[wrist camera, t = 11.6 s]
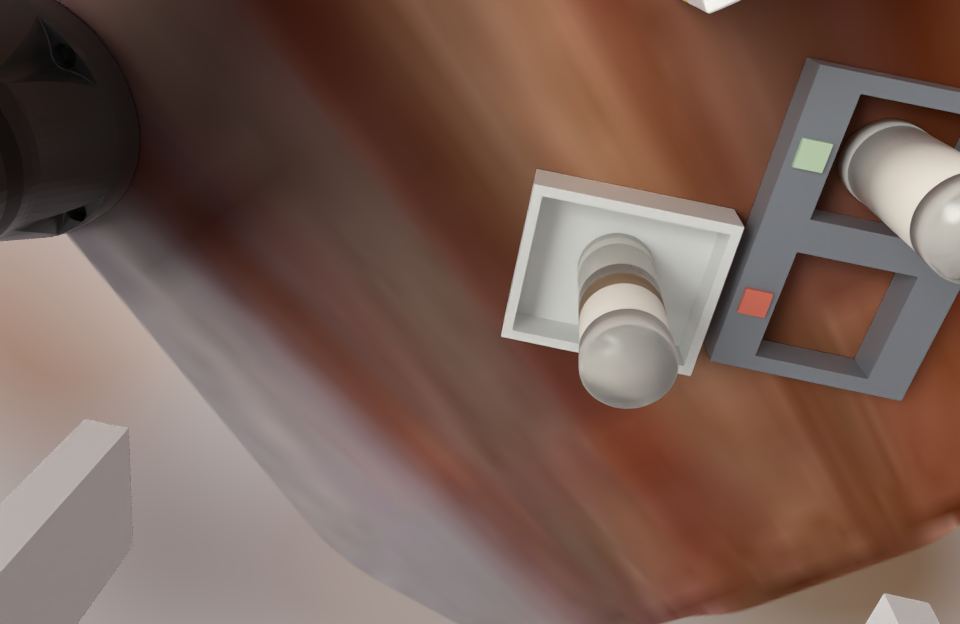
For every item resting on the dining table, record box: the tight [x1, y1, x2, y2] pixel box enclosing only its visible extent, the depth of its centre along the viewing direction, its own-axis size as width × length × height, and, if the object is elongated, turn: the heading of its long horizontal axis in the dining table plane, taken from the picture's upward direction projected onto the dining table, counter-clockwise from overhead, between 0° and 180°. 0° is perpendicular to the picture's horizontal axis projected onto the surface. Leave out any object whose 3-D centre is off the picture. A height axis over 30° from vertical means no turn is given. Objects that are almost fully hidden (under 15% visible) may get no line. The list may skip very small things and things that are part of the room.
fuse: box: [838, 118, 960, 284], centre depth 37 cm, size 5×5×12 cm
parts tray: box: [501, 169, 744, 376], centre depth 46 cm, size 12×10×3 cm
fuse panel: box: [704, 58, 960, 401], centre depth 44 cm, size 12×18×3 cm, turn 170°
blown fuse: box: [577, 233, 679, 409], centre depth 42 cm, size 5×5×12 cm
